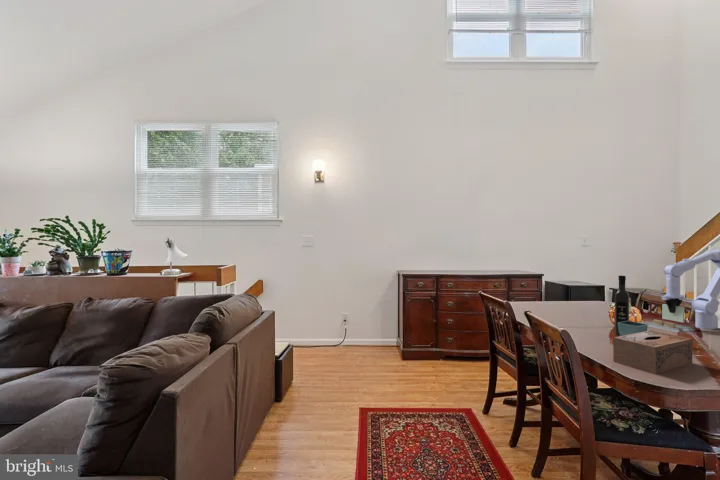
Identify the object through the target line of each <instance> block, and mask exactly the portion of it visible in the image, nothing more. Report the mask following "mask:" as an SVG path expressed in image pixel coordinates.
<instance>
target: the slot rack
mask: <svg viewBox="0 0 720 480" xmlns="http://www.w3.org/2000/svg"><path fill="white" fill-rule="evenodd" d="M645 324H648V327H649V328H654V329H657V330H663V331H667V332H671V333H682V332H683V333H684V332H693V331H694V329H693V327H691V326H687V325H681V324H677V323H676V328H672V327H667V326H662V325H657V324H653V321H649V322H647V321H645ZM648 327H647V328H648Z"/></svg>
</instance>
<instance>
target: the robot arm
mask: <svg viewBox="0 0 720 480" xmlns="http://www.w3.org/2000/svg"><path fill="white" fill-rule="evenodd" d="M707 261H711V263H713V264H714V265H715V266H716V270H715V272H714V274H713V275H712V277H711V279H710V280H709V283H708V284H707V287H705V290H704V292H703V293H702V294H699V295H698V296H697V297H696V298H695V299H694V300H692V302H691V307H692V308H693V310H694V312H695V323H694V324H695V325H694V327H695V328H697V329H701V330H714V329H718V328H719V318H718V316H717V314H716V313H717V312H718V310H719V304H720V301H719V300H718V299H717V298H718V296H719V294H720V249H718V248H717V249H716V248H712V249H709V250H706V251H705V252H704V253H702V254H700V255H697V256H695V257H693V258H682V259H681V260H680V261H678V262H674V263H673V264H668V265H667V266H665V267H664V269H663V270H662V271H663V274H664V276H665V280H666V283H665V284H666V291H665V292H666V293H665V294H664V295H661V300H663V301H664V303H665V304H667V306H668V309H669V312H670V313H675V309H676V306H680V305H681V304H682V303H683V300H684V299H685V297H686V296H685V294H681V277H682V276H683V274H684V273H686V272H688V271H691V270H692V269H695V268H696V265H700V264H702V263H705V262H707ZM680 307H681V306H680Z"/></svg>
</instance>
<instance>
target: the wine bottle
mask: <svg viewBox="0 0 720 480" xmlns="http://www.w3.org/2000/svg"><path fill="white" fill-rule="evenodd" d="M623 321H630V294H629V292H628V291H627V290H626V276H625V275H618V289H617V291H616V292H615V295H614V335H616V336H620V333H619V329H618V322H623Z"/></svg>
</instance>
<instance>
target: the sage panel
mask: <svg viewBox="0 0 720 480" xmlns="http://www.w3.org/2000/svg"><path fill="white" fill-rule="evenodd" d="M661 304H662V306H661V307H662V308H661V309H662V311H661V317H662V318H661V319H662V320H668V321H674V322H680V323H685V306H676V309H675V313H670V312H669V309H668V306H667V304H666V303H661Z"/></svg>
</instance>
